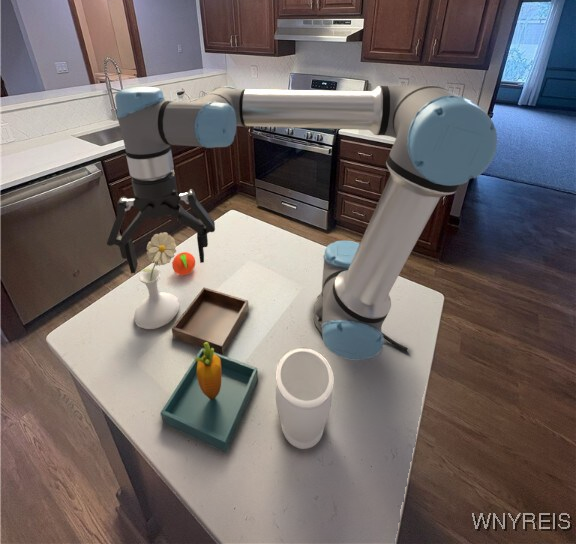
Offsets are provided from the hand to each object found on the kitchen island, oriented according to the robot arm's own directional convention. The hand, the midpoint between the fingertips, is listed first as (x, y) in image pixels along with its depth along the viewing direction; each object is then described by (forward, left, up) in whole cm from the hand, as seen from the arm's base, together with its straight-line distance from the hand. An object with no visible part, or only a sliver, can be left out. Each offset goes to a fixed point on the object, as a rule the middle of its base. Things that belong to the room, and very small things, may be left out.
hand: (169, 263), depth 66 cm
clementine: (+15, -21, -26) cm, 37 cm away
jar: (-32, +6, -26) cm, 42 cm away
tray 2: (-13, +8, -26) cm, 30 cm away
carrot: (-13, +8, -26) cm, 30 cm away
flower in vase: (+12, -6, -26) cm, 30 cm away
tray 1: (-3, -8, -26) cm, 28 cm away
